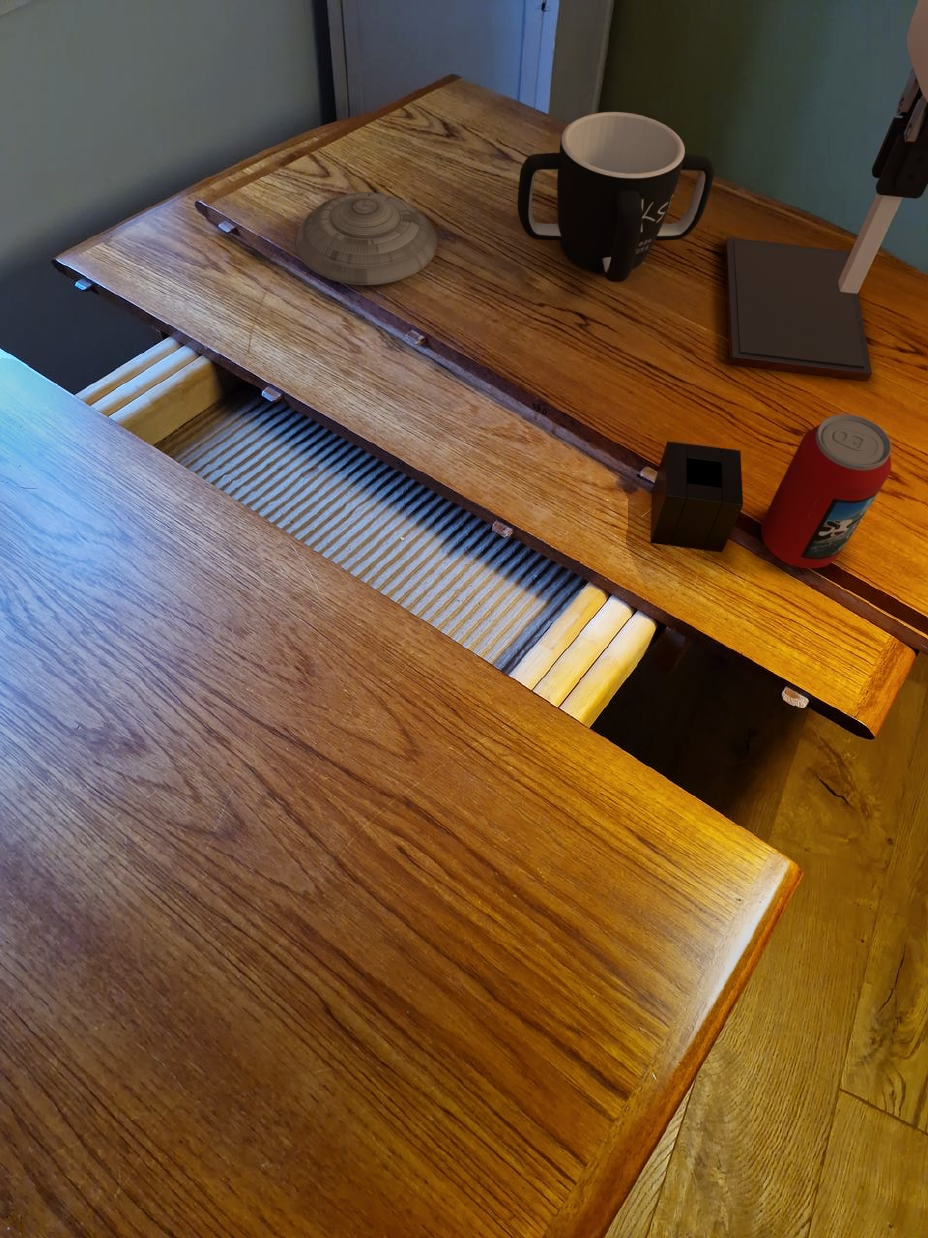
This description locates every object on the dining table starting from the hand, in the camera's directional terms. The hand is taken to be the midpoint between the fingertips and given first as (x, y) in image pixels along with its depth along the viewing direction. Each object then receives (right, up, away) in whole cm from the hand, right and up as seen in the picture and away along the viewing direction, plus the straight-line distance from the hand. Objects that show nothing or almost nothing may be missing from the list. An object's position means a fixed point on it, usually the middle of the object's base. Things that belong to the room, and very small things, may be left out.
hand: (895, 184), depth 64 cm
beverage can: (-3, -25, +12) cm, 27 cm away
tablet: (+3, +1, +29) cm, 29 cm away
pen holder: (-12, -23, +12) cm, 28 cm away
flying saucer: (-41, +8, +32) cm, 53 cm away
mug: (-16, +9, +34) cm, 38 cm away
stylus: (0, -5, +7) cm, 9 cm away
